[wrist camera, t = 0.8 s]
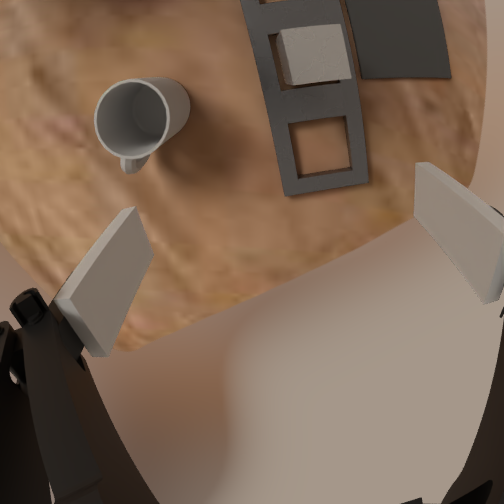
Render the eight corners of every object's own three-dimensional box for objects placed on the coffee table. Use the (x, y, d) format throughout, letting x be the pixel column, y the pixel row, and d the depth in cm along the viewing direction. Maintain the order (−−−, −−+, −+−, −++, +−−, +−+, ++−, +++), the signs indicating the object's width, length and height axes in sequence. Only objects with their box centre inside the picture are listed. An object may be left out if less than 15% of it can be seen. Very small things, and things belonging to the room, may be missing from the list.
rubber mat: (339, -18, 22) (340, -19, 22) (432, -12, 20) (433, -12, 20) (361, 79, 28) (362, 79, 28) (449, 77, 27) (451, 78, 26)
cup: (199, 84, 29) (180, 88, 22) (176, 167, 34) (152, 196, 27) (139, 71, 28) (103, 73, 21) (120, 152, 33) (85, 177, 26)
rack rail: (226, -48, 20) (225, -52, 19) (317, -59, 19) (319, -63, 18) (283, 192, 36) (284, 196, 35) (365, 179, 35) (368, 182, 34)
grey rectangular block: (275, 40, 27) (280, 29, 20) (321, 35, 26) (340, 23, 19) (285, 83, 29) (293, 85, 22) (330, 77, 29) (351, 78, 22)
